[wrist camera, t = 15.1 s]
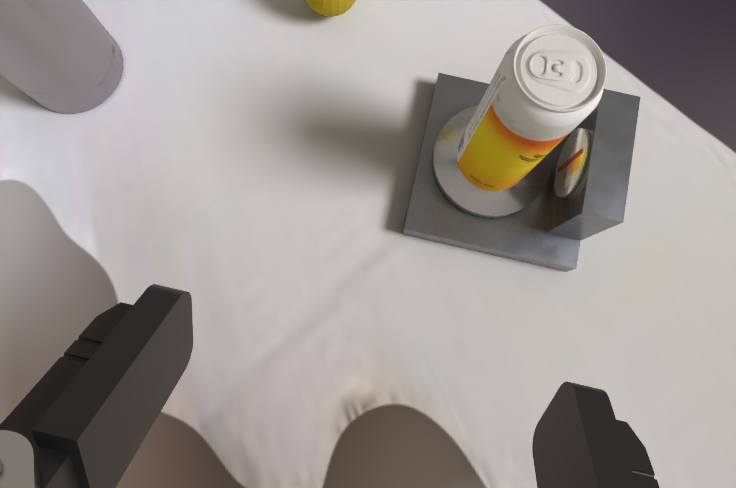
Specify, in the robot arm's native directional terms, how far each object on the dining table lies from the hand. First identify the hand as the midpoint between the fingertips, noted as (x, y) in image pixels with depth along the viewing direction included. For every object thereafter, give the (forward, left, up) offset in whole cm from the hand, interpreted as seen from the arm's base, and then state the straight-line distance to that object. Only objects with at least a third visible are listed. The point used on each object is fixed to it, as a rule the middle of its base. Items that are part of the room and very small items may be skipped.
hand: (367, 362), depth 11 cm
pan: (+8, +18, -30) cm, 36 cm away
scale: (+9, +18, -33) cm, 38 cm away
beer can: (+7, +17, -30) cm, 35 cm away
